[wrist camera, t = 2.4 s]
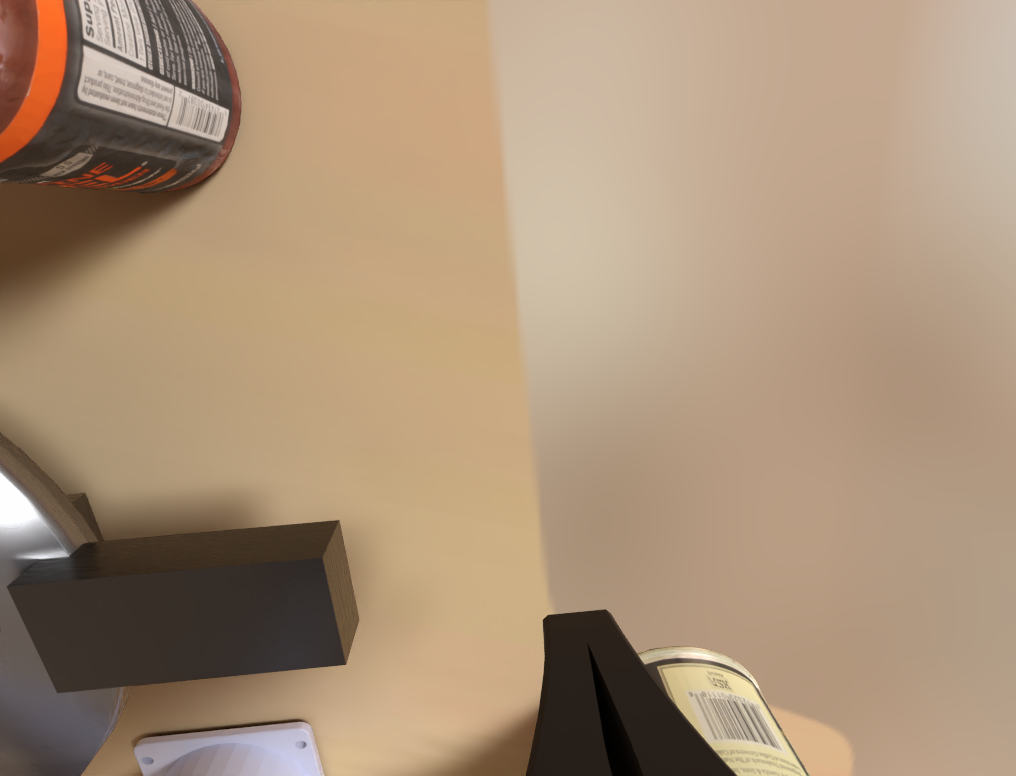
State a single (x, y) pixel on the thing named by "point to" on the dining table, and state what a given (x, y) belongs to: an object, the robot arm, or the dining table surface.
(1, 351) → the dining table surface
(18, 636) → the cooker lid
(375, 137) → the dining table surface
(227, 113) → the supplement bottle
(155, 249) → the dining table surface
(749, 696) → the coffee can
